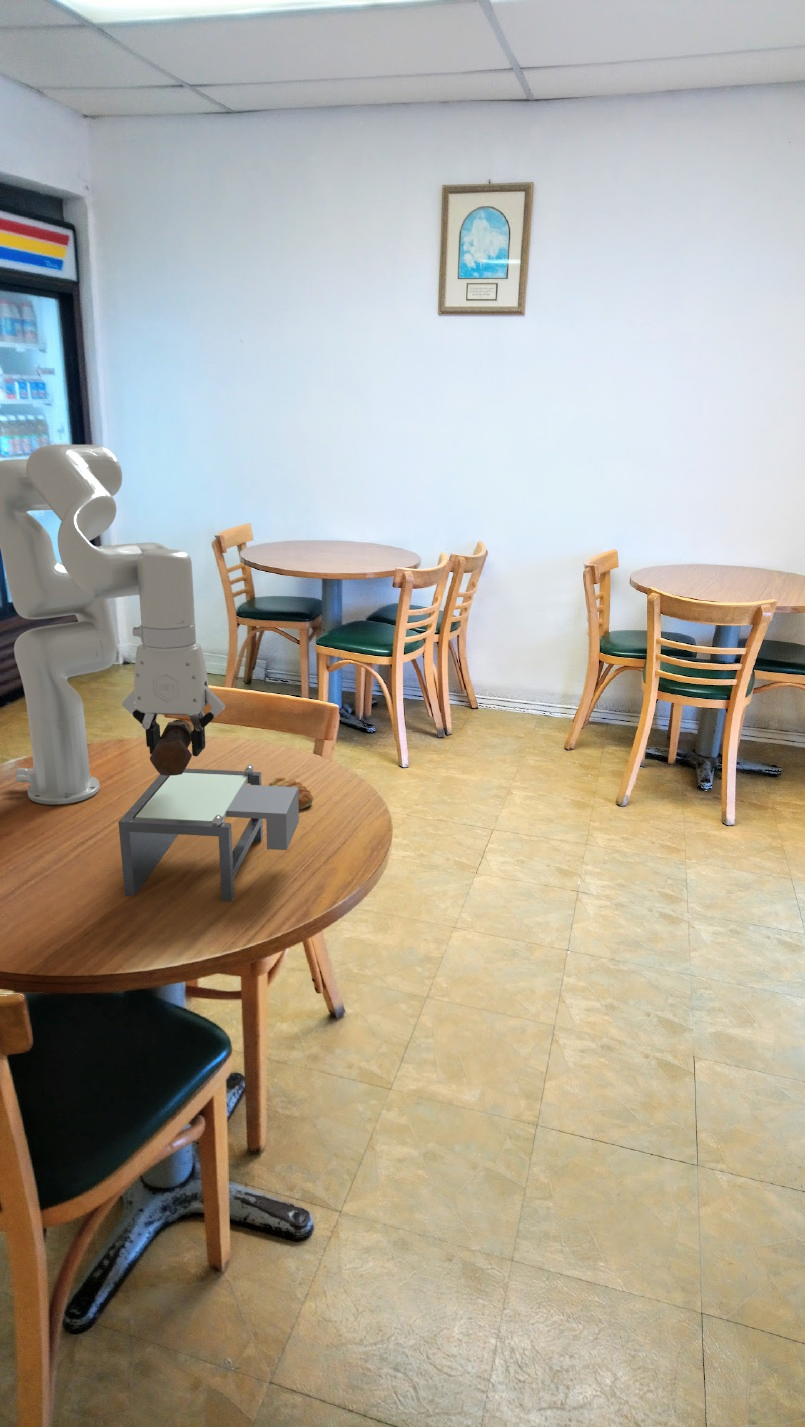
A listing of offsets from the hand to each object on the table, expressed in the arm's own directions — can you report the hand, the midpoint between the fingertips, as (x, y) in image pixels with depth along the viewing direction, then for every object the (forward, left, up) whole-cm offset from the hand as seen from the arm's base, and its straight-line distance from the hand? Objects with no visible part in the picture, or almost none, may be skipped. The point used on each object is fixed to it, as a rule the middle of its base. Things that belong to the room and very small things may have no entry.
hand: (176, 751), depth 132 cm
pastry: (+12, +27, -20) cm, 35 cm away
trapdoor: (+7, 0, -13) cm, 15 cm away
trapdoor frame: (+2, 0, -19) cm, 19 cm away
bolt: (0, -1, -1) cm, 1 cm away
